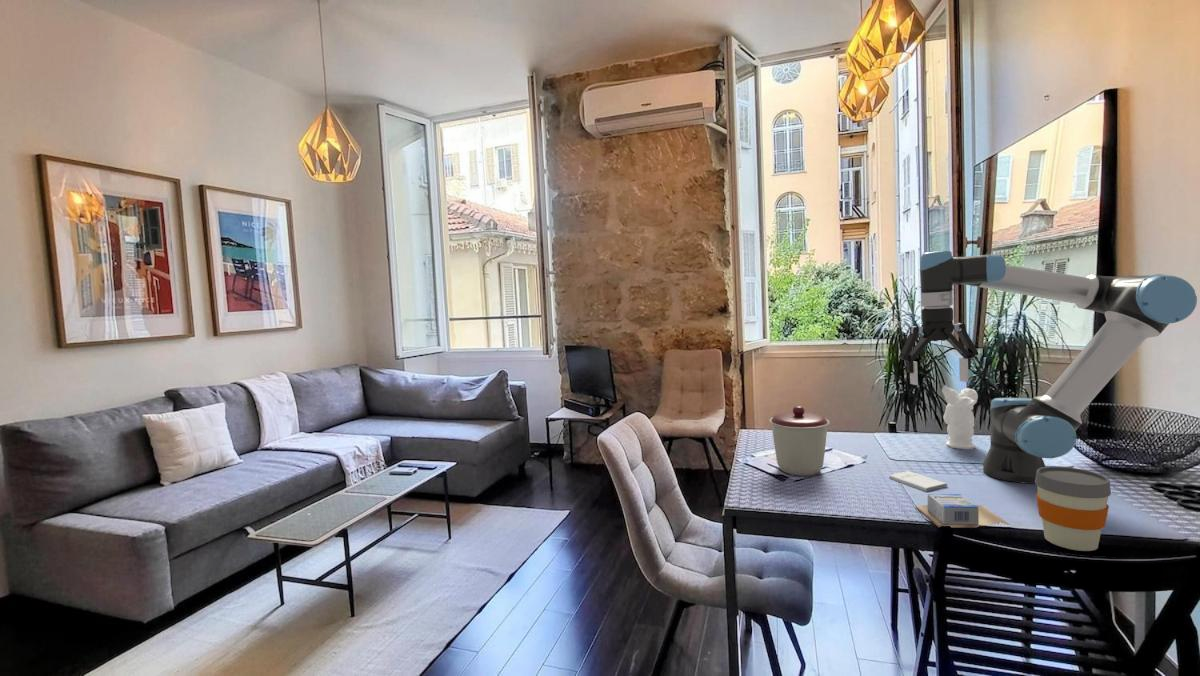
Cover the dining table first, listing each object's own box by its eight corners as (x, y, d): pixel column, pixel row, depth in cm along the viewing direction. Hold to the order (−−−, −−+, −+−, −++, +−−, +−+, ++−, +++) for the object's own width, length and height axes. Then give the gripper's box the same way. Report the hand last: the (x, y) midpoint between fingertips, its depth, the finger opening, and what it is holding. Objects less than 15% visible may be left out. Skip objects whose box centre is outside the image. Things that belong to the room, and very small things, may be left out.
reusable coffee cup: (1126, 552, 114) (1128, 482, 112) (1071, 557, 113) (1072, 487, 111) (1070, 526, 126) (1071, 464, 125) (1019, 531, 125) (1020, 468, 124)
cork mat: (981, 507, 139) (981, 505, 139) (1011, 527, 127) (1011, 525, 127) (915, 507, 141) (915, 505, 141) (938, 527, 129) (938, 525, 129)
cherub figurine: (970, 442, 193) (971, 382, 191) (991, 453, 181) (992, 388, 179) (934, 442, 195) (935, 382, 193) (952, 453, 182) (953, 388, 181)
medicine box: (943, 507, 129) (926, 493, 137) (943, 525, 129) (926, 510, 138) (979, 507, 128) (960, 493, 136) (979, 525, 128) (960, 510, 137)
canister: (794, 458, 186) (792, 398, 184) (842, 471, 171) (841, 405, 169) (758, 470, 176) (756, 406, 174) (806, 485, 161) (805, 415, 159)
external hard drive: (926, 493, 151) (889, 479, 163) (947, 488, 154) (909, 475, 166) (926, 488, 151) (888, 474, 163) (947, 483, 154) (909, 470, 166)
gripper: (897, 311, 147) (899, 387, 149) (992, 304, 146) (994, 382, 147) (884, 310, 155) (887, 383, 156) (974, 303, 153) (976, 377, 155)
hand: (938, 382), depth 152 cm, fingers open, 13 cm apart
